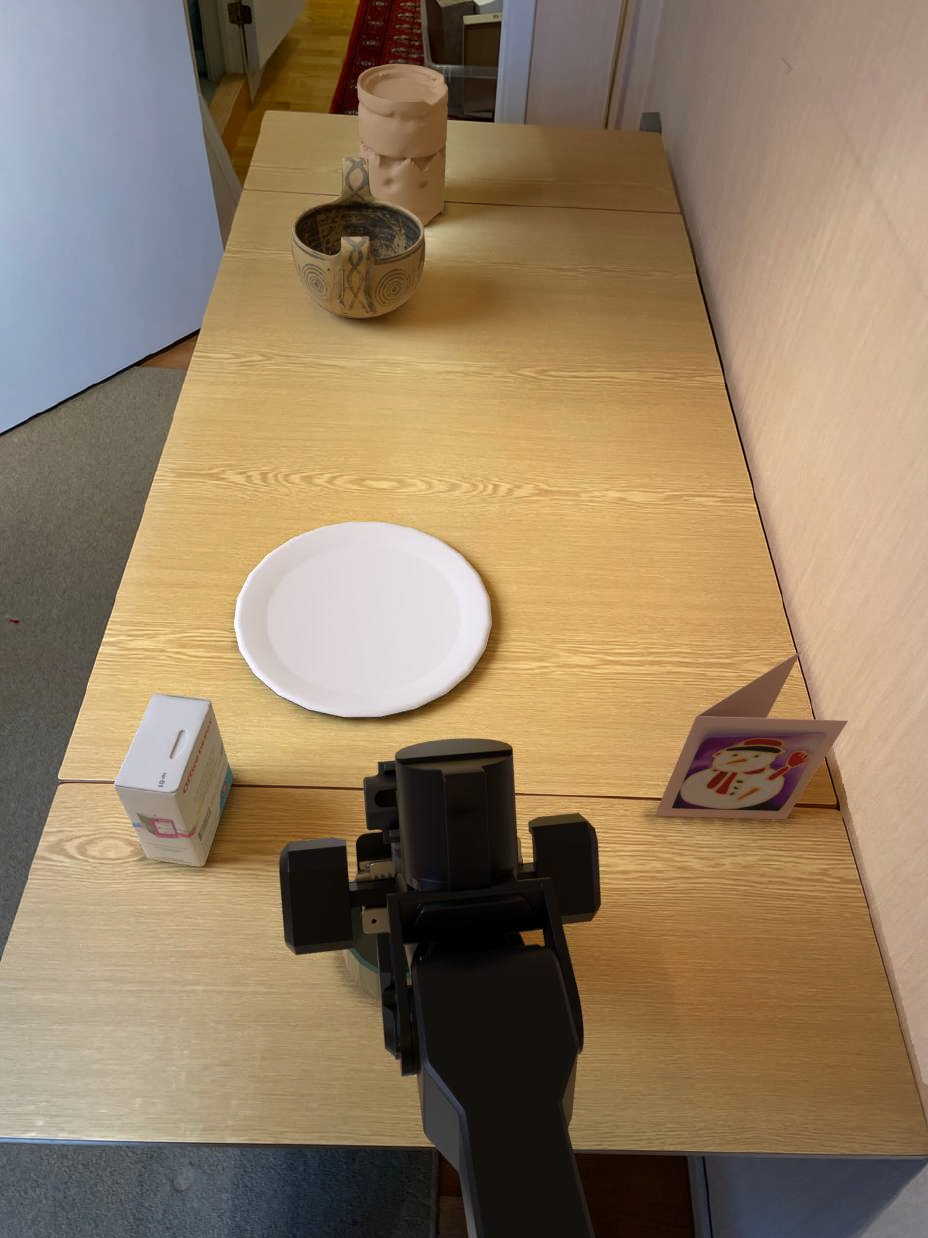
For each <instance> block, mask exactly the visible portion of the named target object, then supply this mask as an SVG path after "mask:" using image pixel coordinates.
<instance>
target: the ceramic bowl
mask: <svg viewBox="0 0 928 1238" xmlns="http://www.w3.org/2000/svg"><path fill="white" fill-rule="evenodd" d="M291 255H292V260H293V266H294V269H295V272H296V276H297V278H298V281H299V282H300V284H301V287H302V289H303V290H304V291H305V292H306V294H307V295H308V297H309V298H310V299H311V300H312V301H313V302H314V303H316V305H318V306H319V307H320V308H322V309H324V310H325V311H327V312H329V313H330V314H334V315H336V316H339V317H343V318H347V319H360V320H361V319H370V318H376V317H379V316H383V315H385V314H388V313H390V312H392V311H395V310H396V309H397V308H399V307H401V306H402V305H403V304H404V303H406V302H407V301H408V300H409V299H410V298H411V296H412V295H413V294H414V293H415V291H416V289H417V287H418V285H419V284H420V281H421V279H422V275H423V271H424V267H425V259H426V236H425V226H423V224H422V222H421V220H420V219H419V218H418V217H417V216H416V215H415V214H413V213H412V212H410V211H409V210H407V209H405V208H404V207H402V206H399V205H396V204H394V203H391V202H387V201H382V200H378V199H376V198H375V197H374V196H373V195H372V194H371V191H370V185H369V160H368V159H367V158H361V157H359V156H357V157H355V156H353V157H352V156H351V157H350V156H349V157H347V156H346V157H342V158H341V192H340V195H338V196H337V197H335V198H333V199H330V200H326V201H325V200H324V201H321V202H319V203H316V204H314V205H312V206H311V205H310V206H309V207H307V208H305V209H303V210H302V211H301V212H299V213H298V214H297V215H296V216H295V218H294V220H293V222H292V224H291Z"/></svg>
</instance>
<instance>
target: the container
mask: <svg viewBox="0 0 928 1238" xmlns="http://www.w3.org/2000/svg"><path fill="white" fill-rule="evenodd" d="M356 85H357V86H356V87H357V98H358V101H359V103H358V107H357V114H358V115H357V117H358V121H357V122H358V136H359V139H360V144H359V149H358V155H359V156H358V157H361V158H367V159H368V160H369V185H370V191H371V194H372V195H373V196H374V197H375V198H376V199H378V200H382V201H387V202H391V203H394V204H396V205H399V206H402V207H404V208H405V209H407V210H409V211H410V212H412V213H413V214H415V215H416V216H417V217H418V218H419V219H420V220H421V222H422V224H423V226H424V227H425V226H427V225H429V222H430V221H432V220H433V218H435V216H438V214H443V213H444V210H445V209H444V208H445V198H444V195H445V189H446V188H445V186H446V162H447V161H446V160H447V139H448V113H449V109H448V108H449V107H448V102H449V88H448V85H447V84H446V81H445V78H444V75H443V74H442V73H440V72H439V71H437V70H435V69H431V68H429V67H425V66H422V65H417V64H407V63H389V64H387V63H386V64H383V65H379V66H372V67H370V68H367V69H365V71H362V72H361V73H360V74H359V75H358V78H357V83H356Z"/></svg>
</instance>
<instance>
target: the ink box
mask: <svg viewBox="0 0 928 1238" xmlns="http://www.w3.org/2000/svg"><path fill="white" fill-rule="evenodd" d="M231 770H232V769H231V766H230V763H229V760H228V756H227V752H226V749H225V745H224V741H223V738H222V735H221V732H220V727H219V724H218V721H217V718H216V714H215V711H214V707H213V703H212V701H211V700H210V699H209V698H202V697H195V696H189V695H188V696H186V695H179V694H178V695H177V694H165V693H153V694H152V696H151V698H150V699H149V702H148V705H147V707H146V709H145V711H144V714H143V716H142V718H141V721H140V723H139V725H138V728H137V730H136V733H135V735H134V737H133V739H132V741H131V744H130V746H129V749H128V751H127V753H126V755H125V757H124V760H123V762H122V764H121V766H120V769H119V771H118V773H117V776H116V777H115V780H114V783H113V788H114V790H115V792H116V794H117V796H118V798H119V801H120V803H121V805H122V808H123V809H124V811H125V813H126V815H127V817H128V820H129V822H130V824H131V826H132V828H133V830H134V832H135V835H136V836H137V838H138V841H139V843H140V845H141V847H142V849H143V851H144V853H145V856H146V858H147V859H149V860H153V861H158V862H159V861H160V862H164V863H172V864H178V865H184V866H190V867H191V866H193V867H201V868H202V867H204V866H205V864H207V859H208V857H209V854H210V851H211V848H212V844H213V841H214V839H215V836H216V832H217V829H218V827H219V823H220V821H221V818H222V814H223V811H224V808H225V805H226V802H227V800H228V797H229V794H230V791H231V787H232V785H233V781H234V776H233V773H232V771H231Z"/></svg>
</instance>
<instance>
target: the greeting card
mask: <svg viewBox="0 0 928 1238" xmlns="http://www.w3.org/2000/svg"><path fill="white" fill-rule="evenodd" d="M801 652H802V650H800V651H798V652H797V653H795V654H793V655H791V656H790V657H789V658H787V659H785V660H783V661H782V662H780V663H779V664H777V665H776V666H774V667H773V668H771V669H769V670H768V671H766V672H764V673H763V674H761V675H760V676H758V677H756V678H755V679H753V680H752V681H750V682H748V683H747V684H745V685H743V686H742V687H740V688H739V689H737V690H735V691H734V692H732V693H731V694H729V695H728V696H726V697H724V698H723V699H721V700H720V701H718V702H717V703H715V704H713V705H712V706H711V707H709V708H707V709H705V710H704V711H702V712H700V713H699V714H698V715H696V716H695V718H694V721H693V722H692V726H691V727H690V730H689V733H688V735H687V737H686V740H685V742H684V743H683V744H684V745H683V747H682V749H681V752H680V754H679V756H678V759H677V761H676V764H675V766H674V768H673V770H672V773H671V776H670V778H669V781H668V782H667V784H666V788H665V790H664V792H663V794H662V797H661V800H660V802H659V804H658V807H657V809H656V811H655V814H654V817H682V818H683V817H684V818H685V817H686V818H723V819H724V818H725V819H727V818H728V819H762V820H763V819H765V820H769V819H770V820H787V818H788V817H789V816H790V814H791V812H792V811H793V809H794V808H795V806H796V804H797V803H798V801H799V800H800V798H801V796H802V795H803V793H804V792H805V790H806V788H807V787H808V785H809V784H810V782H811V781H812V779H813V777H814V776H815V774H816V773H817V771H818V769H819V768H820V766H821V765H822V763H823V761H824V760H825V758H826V756H827V755H828V753H829V752H830V750H831V749H832V748H833V745H835V742H836V741H837V739H838V738H839V736H840V735H841V733H842V732H843V730H844V728H845V726H847V723H848V722H849V720H843V719H842V720H841V719H839V720H838V719H812V718H810V719H809V718H807V719H806V718H776V717H775V718H773V717H770V718H769V717H768V716H769V714H770V712H771V710H772V708H773V707H774V704H775V703H776V701H777V699H778V697H779V695H780V693H781V691H782V689H783V688H784V686H785V683H786V681H787V680H788V678H789V675H790V673H791V672H792V670H793V668H794V667H795V664H796V663H797V660H798V658H799V657H800V654H801Z"/></svg>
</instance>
